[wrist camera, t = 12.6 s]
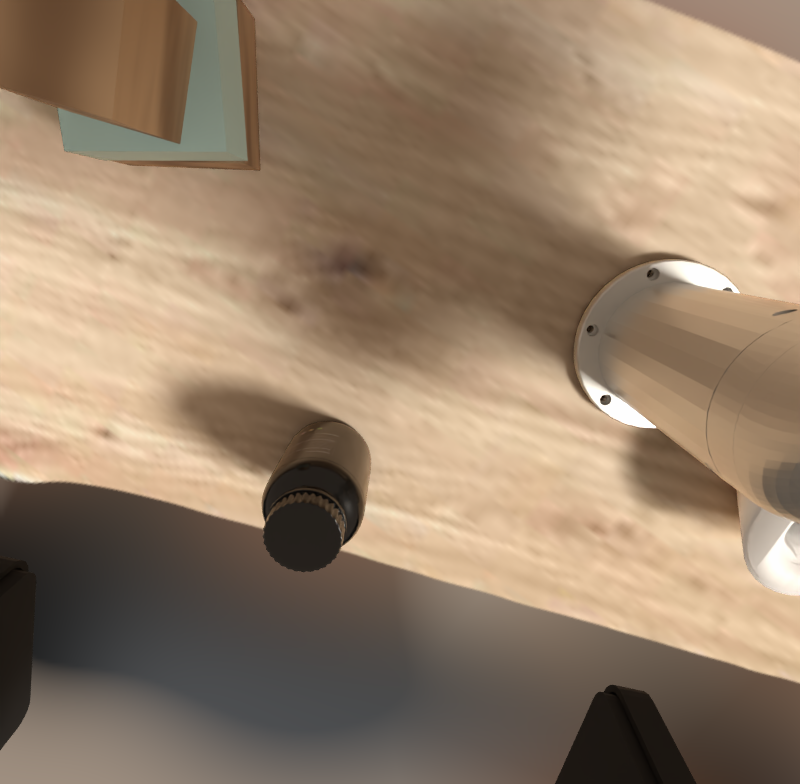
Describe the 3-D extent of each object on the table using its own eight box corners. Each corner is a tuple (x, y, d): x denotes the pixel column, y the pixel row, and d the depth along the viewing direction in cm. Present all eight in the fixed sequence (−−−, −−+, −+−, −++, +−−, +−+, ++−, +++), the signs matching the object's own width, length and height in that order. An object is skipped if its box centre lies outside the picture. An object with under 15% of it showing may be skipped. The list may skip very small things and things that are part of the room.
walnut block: (197, 21, 27) (129, -45, 21) (180, 144, 29) (112, 119, 22) (80, -15, 27) (-28, -95, 20) (70, 112, 29) (-33, 76, 22)
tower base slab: (256, 21, 34) (237, -6, 30) (261, 170, 37) (244, 163, 33) (117, 15, 34) (80, -13, 30) (132, 165, 37) (100, 158, 33)
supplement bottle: (383, 482, 43) (375, 573, 32) (305, 504, 44) (269, 601, 32) (356, 406, 41) (337, 474, 30) (275, 431, 42) (225, 505, 31)
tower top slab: (235, -10, 30) (210, -45, 26) (247, 160, 33) (226, 151, 29) (79, -10, 30) (32, -45, 26) (104, 160, 33) (64, 150, 29)
